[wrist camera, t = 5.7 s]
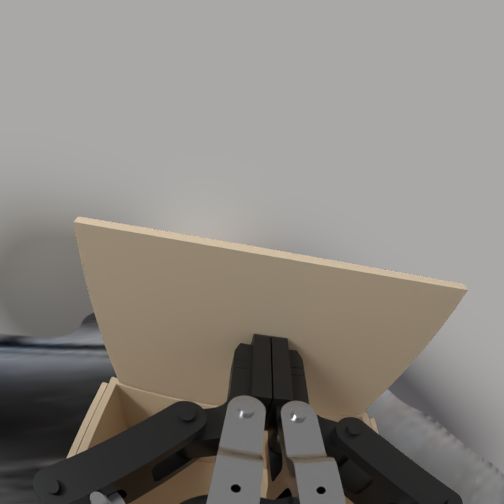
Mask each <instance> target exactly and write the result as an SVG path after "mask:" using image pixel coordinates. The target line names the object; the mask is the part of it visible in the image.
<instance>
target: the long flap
mask: <svg viewBox="0 0 504 504" xmlns="http://www.w3.org/2000/svg"><path fill="white" fill-rule="evenodd" d="M74 228H75V234H76V239H77V244H78V249H79V253H80V259H81V263H82V268H83V272H84V276H85V280H86V284H87V288H88V292H89V296H90V299H91V303H92V306H93V309H94V313H95V316H96V320H97V323H98V326H99V329H100V332H101V335H102V338H103V341H104V344H105V347H106V350H107V352H108V355H109V358H110V361H111V363H112V366H113V368H114V371H115V373H116V376H117V378H118V381H119V383H122V384H125V385H128V386H132V387H136V388H139V389H143V390H147V391H151V392H155V393H159V394H163V395H167V396H172V397H176V398H181V399H186V400H191V401H196V402H201V403H207V404H213V405H219V406H221V405H223V404H224V403H225V402H226V401H227V395H228V387H229V378H230V371H231V366H232V361H233V356H234V351H235V349H236V348H237V347H238V345H239V344H240V343H244V344H251V341H252V338H253V334H261V335H268V336H270V338H271V336H275V337H283V338H287V339H288V348H289V350H297V351H298V353H299V354H300V356H301V357H302V359H303V365H304V371H305V378H306V385H307V392H308V399H309V404H310V406H311V407H313V409H314V410H315V412H316V414H317V415H360V414H361V413H362V412H363V411H365V410H366V409H367V408H368V407H369V406H370V405H371V404H372V403H373V402H374V401H375V400H376V399H377V398H378V397H379V396H380V395H381V394H383V393H384V392H385V391H386V390H387V389H388V387H389V386H390V385H392V383H393V382H394V381H395V380H396V379H397V378H398V377H399V376H400V375H401V374H402V373H403V372H404V371H405V370H406V368H408V366H409V365H410V364H411V363H412V362H413V361H414V360H415V359H416V357H417V356H418V355H419V354H420V353H421V351H422V350H423V349H424V348H425V347H426V346H427V345H428V343H429V342H430V341H431V340H432V338H433V337H434V336H435V335H436V333H437V332H438V331H439V330H440V328H441V327H442V326H443V324H444V323H445V322H446V320H447V319H448V318H449V316H450V315H451V314H452V312H453V311H454V310H455V308H456V307H457V305H458V304H459V302H460V301H461V300H462V298H463V296H464V295H465V294H466V292H467V288H466V287H465V285H464V284H460V283H455V282H449V281H443V280H438V279H433V278H428V277H422V276H417V275H411V274H406V273H400V272H395V271H390V270H383V269H378V268H373V267H367V266H362V265H356V264H350V263H345V262H340V261H334V260H328V259H323V258H317V257H312V256H306V255H300V254H295V253H289V252H283V251H278V250H272V249H266V248H261V247H255V246H249V245H243V244H237V243H232V242H226V241H220V240H214V239H209V238H203V237H197V236H191V235H185V234H179V233H173V232H168V231H162V230H156V229H150V228H144V227H138V226H131V225H126V224H120V223H114V222H108V221H102V220H96V219H90V218H84V217H78V218H77V219H76V220H75V221H74Z"/></svg>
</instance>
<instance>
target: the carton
mask: <svg viewBox="0 0 504 504" xmlns="http://www.w3.org/2000/svg"><path fill="white" fill-rule="evenodd" d="M179 401H191V400H186V399H181V398H176V397H172V396H167V395H163V394H159V393H155V392H151V391H147V390H143V389H139V388H136V387H132V386H128V385H125V384H122V383H119V381H118V378H114V377H112V378H111V380H110V382H109V384H107V383H104V382H102V384H101V386H100V388H99V390H98V392H97V394H96V396H95V398H94V400H93V402H92V404H91V406H90V408H89V410H88V412H87V414H86V417H85V419H84V421H83V423H82V425H81V427H80V429H79V431H78V434H77V436H76V438H75V440H74V442H73V445H72V447H71V449H70V451H69V454H68V456H67V458H70V457H72V456H74V455H76V454H78V453H81V452H83V451H85V450H87V449H89V448H91V447H93V446H95V445H97V444H100V443H102V442H104V441H106V440H108V439H110V438H112V437H114V436H115V435H117V434H119V433H121V432H123V431H125V430H127V429H129V428H131V427H133V426H134V425H136V424H138V423H140V422H142V421H144V420H145V419H147V418H149V417H151V416H153V415H154V414H156V413H158V412H160V411H161V410H163V409H165V408H167V407H168V406H170V405H172V404H174V403H176V402H179ZM191 402H194V403H196V404H198V405H199V406H201V407H202V408H203V409H207V408H215V407H218V406H219V405H213V404H207V403H201V402H196V401H191ZM319 416H321V417H323V418H325V419H329V420H332V421H336V422H339V421H340V420H341V419H343V418H345V417H355V418H358V419H360V420H362V421H363V422H364V423H365V424H367V425H368V426H369V427H370V428H372V429H373V430H374V431H375V432H376V433H378V429H377V426H376V423H375V419H374V418H369V417H368V414H367V411H363V412H362V413H361V414H360V415H319ZM378 434H379V433H378ZM267 439H268V431H264V436H263V446H262V458H263V459H264V466H263V476H262V485H261V494H260V497H262V498H266V493H267V488H268V475H267V464H266V453H265V443H266V441H267ZM67 458H66V459H67ZM215 461H216V456H210V457H201V458H199V459H198V460H197V461H195V462H194V463H192V464H191V465H190V466H188V467H187V468H185V469H184V470H182V471H181V472H179V473H178V474H176V475H175V476H173V477H172V478H170V479H169V480H167V481H166V482H164V483H163V484H161V485H159V486H158V487H156V488H155V489H153V490H151V491H150V492H148V493H146V494H145V495H143V496H141V497H140V498H138V499H136V500H134V501H133V502H131V503H129V504H180V503H181V502H183V501H185V500H187V499H190V498H192V497H196V496H200V495H207V494H208V492H209V488H210V483H211V479H212V474H213V470H214V465H215ZM345 500H346V504H354V503H353V502H351V501H350V500H349V499H348V498H347V497H346V496H345Z"/></svg>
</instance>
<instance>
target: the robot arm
mask: <svg viewBox="0 0 504 504" xmlns="http://www.w3.org/2000/svg"><path fill="white" fill-rule="evenodd" d="M264 431H268V439H267V441H266V443H265V453H266V464H267V475H268V488H267V493H266V498H262V497H260V494H261V485H262V476H263V466H264V459H263V458H262V446H263V436H264ZM210 456H216V461H215V465H214V470H213V474H212V479H211V483H210V488H209V492H208V494H207V495H200V496H196V497H192V498H190V499H187V500H185V501H183V502H181V503H180V504H346V500H345V496H346V497H347V498H348V499H349V500H350V501H351V502H353V503H354V504H463V502H462V499H461V497H460V496H459V495H458V494H457V493H456V492H454V491H453V490H451V489H450V488H448V487H447V486H446V485H444V484H443V483H442V482H440V481H439V480H437V479H436V478H435V477H433V476H432V475H431V474H429V473H428V472H426V471H425V470H424V469H422V468H421V467H420V466H418V465H417V464H416V463H415V462H413V461H412V460H411V459H409V458H408V457H407V456H405V455H404V454H403V453H402V452H400V451H399V450H398V449H396V448H395V447H394V446H393V445H391V444H390V443H389V442H388V441H386V440H385V439H384V438H383V437H381V436H380V435H379V434H378V433H376V432H375V431H374V430H373V429H372V428H370V427H369V426H368V425H367V424H365V423H364V422H363V421H362V420H360V419H358V418H355V417H345V418H343V419H341V420H340V421H339V422H336V421H332V420H329V419H325V418H323V417H321V416H319V415H317V414H316V412H315V410H314V409H313V407H311V406H310V404H309V399H308V392H307V385H306V378H305V371H304V365H303V359H302V357H301V356H300V354H299V353H298V351H297V350H289V348H288V339H287V338H283V337H275V336H271V338H270V336H268V335H261V334H253V338H252V341H251V344H244V343H240V344H239V345H238V347H237V348H236V349H235V351H234V356H233V361H232V366H231V371H230V378H229V387H228V395H227V401H226V402H225V403H224V404H223V405H221V406H218V407H215V408H207V409H203V408H202V407H201V406H199V405H198V404H196V403H194V402H191V401H179V402H176V403H174V404H172V405H170V406H168V407H167V408H165V409H163V410H161V411H160V412H158V413H156V414H154V415H153V416H151V417H149V418H147V419H145V420H144V421H142V422H140V423H138V424H136V425H134V426H133V427H131V428H129V429H127V430H125V431H123V432H121V433H119V434H117V435H115V436H114V437H112V438H110V439H108V440H106V441H104V442H102V443H100V444H97V445H95V446H93V447H91V448H89V449H87V450H85V451H83V452H81V453H78V454H76V455H74V456H72V457H70V458H67V459H65V460H63V461H60V462H58V463H56V464H53V465H51V466H49V467H46V468H44V469H41V470H40V471H38V472H37V473H36V474H35V476H34V479H33V489H34V491H35V493H36V495H37V496H38V498H39V499H40V500H41V501H43V502H44V503H45V504H129V503H131V502H133V501H134V500H136V499H138V498H140V497H141V496H143V495H145V494H146V493H148V492H150V491H151V490H153V489H155V488H156V487H158V486H159V485H161V484H163V483H164V482H166V481H167V480H169V479H170V478H172V477H173V476H175V475H176V474H178V473H179V472H181V471H182V470H184V469H185V468H187V467H188V466H190V465H191V464H192V463H194V462H195V461H197V460H198V459H199V458H201V457H210Z"/></svg>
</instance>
